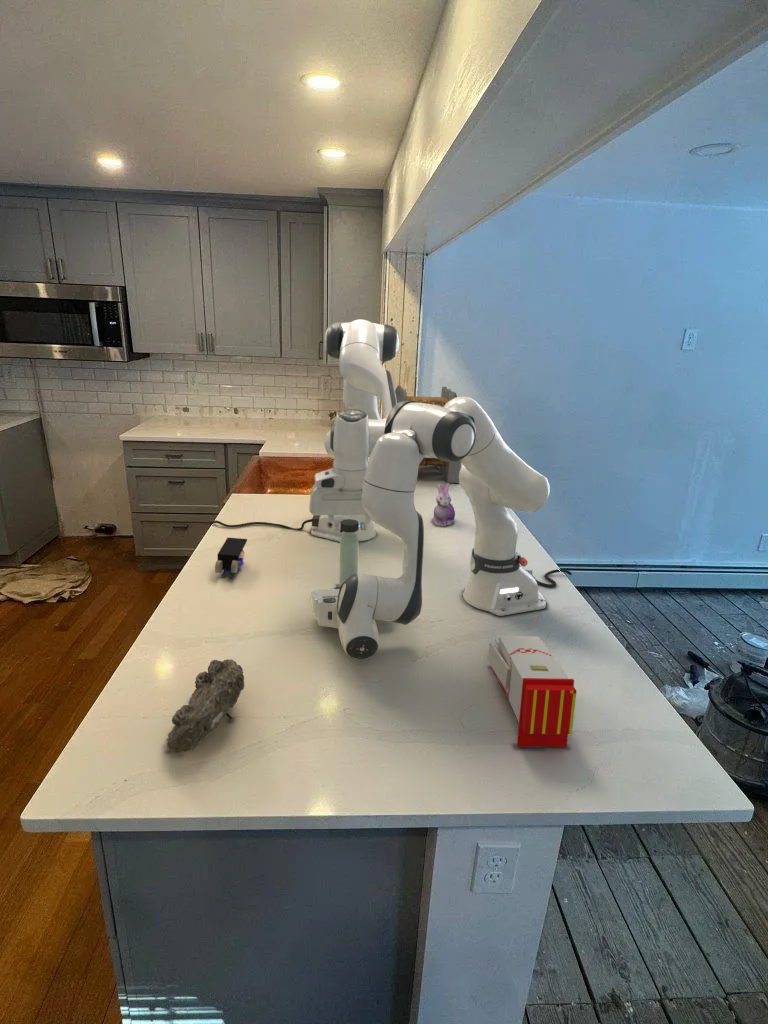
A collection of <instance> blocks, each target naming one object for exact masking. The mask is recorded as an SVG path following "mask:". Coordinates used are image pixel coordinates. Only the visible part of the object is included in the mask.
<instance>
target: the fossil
mask: <svg viewBox="0 0 768 1024" xmlns="http://www.w3.org/2000/svg"><path fill="white" fill-rule="evenodd" d="M243 670H244V669H243V667H242V665H240V664H237V662H236V661H235V660H234V659H232V658H231V659H227V658H226V659H224V660H223V661H222V660H217V659H212V660H211V661H210V663H209V665H208V666H207V671H201V672H199V673H198V674H197V675H196V676H195V680H194V684H195V685H194V687H195V689H194V690H193V693H192V694H191V697H190V698H189V700H188V704H184V705H182V706H181V707H180V709H177V710H176V711H175V713H174V715H173V716H172V718H171V723H172V724H173V727H172V730H171V731H170V732H168V734H167V738H166V741H167V742H166V745H167V749H168V750H169V751H173V752H174V753H176V754H178V753H182V752H188V751H189V752H192V751H193V750H195V748H196V747H197V746H199V744H200V743H201V742H203V741H204V740H205V739H206V738H207V737H208V736H209V735H210V734H211V733H212V732H214V730H215V729H217V727H218V726H219V724H220V722H221V721H222V720H223V719H224V718H225V716H226V717H227V719H229V720H233V717H232V715H230V714H229V710H230V709H231V708H234V706H235V704H236V703H237V702H238V699H239V697H240V695H241V693H242V691H243V690H245V689H244V688H245V675H244V671H243Z"/></svg>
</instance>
